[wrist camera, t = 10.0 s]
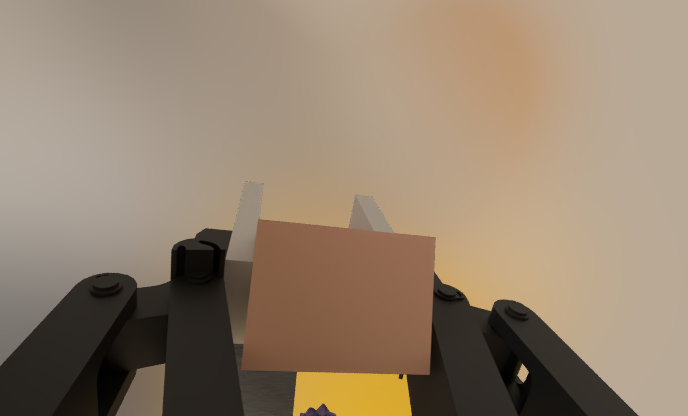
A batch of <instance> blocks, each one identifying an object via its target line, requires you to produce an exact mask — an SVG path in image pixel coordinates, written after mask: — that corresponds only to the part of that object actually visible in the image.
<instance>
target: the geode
mask: <svg viewBox="0 0 688 416" xmlns="http://www.w3.org/2000/svg"><path fill="white" fill-rule="evenodd" d="M300 416H336V414H335V413H331V412H330V411H329V410H328V409H327V407H326V406H325V404H322V405H321V406H320V407H319V408H318V409H317V410H315V409H313V408H309V409H308V410H307V412H306V413H300Z"/></svg>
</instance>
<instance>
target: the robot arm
mask: <svg viewBox="0 0 688 416" xmlns="http://www.w3.org/2000/svg"><path fill="white" fill-rule="evenodd" d="M262 193H263V183H255V182H248V181H245V183H244V187H243V191H242V195H241V199H240V203H239V207H238V211H237V215H236V219H235V223H234V227H233V231H228V230H217V229H207V228H206V229H204V230H202V231H201V232H199V233H198V234H197V235H196V237H195V238H194V239H187V240H183V241H180V242H178V243H177V244H175V245H174V246H173V248H172V252H171V254H172V255H171V281H169V282H167V283H164V284H161V285H157V286H151V287H143V288H137V283H136V281H135V280H134V279H133V278H132V277H130V276H128V275H124V274H120V273H102V274H97V275H93V276H91V277H88V278H86V279H84V280H82V281H81V282H79V283H78V284H77V285H75V287H73V289H72V290H71V291H70V292H69V293H68V294H67V295H66V296H65V297H64V298H63V299H62V300H61V301H60V303H59V304H58V305H57V306H56V307H55V308H54V309H53V310H52V311H51V312H50V313H49V314H48V315H47V317H46V318H45V319H44V320H43V321H42V322H41V323H40V324H39V325H38V326H37V328H35V329H34V330H33V332H32V333H31V334H30V335H29V336H28V337H27V338H26V339H25V340H24V341H23V342H22V343H21V345H20V346H19V347H18V348H17V349H16V350H15V351H14V352H13V353H12V354H11V355H10V356H9V357H8V358H7V359H6V361H5V362H4V363H3V364H2V365H1V366H0V416H115V415H116V413H117V411H118V409H119V407H120V405H121V403H122V401H123V399H124V397H125V395H126V393H127V391H128V389H129V387H130V385H131V383H132V381H133V379H134V377H135V375H136V370H137V369H139V368H144V367H148V366H154V365H159V364H164V363H165V381H164V397H163V414H162V416H244V409H243V402H242V396H241V389H240V383H239V376H238V369H237V363H236V356H235V349H234V344H244V337H245V329H246V320H247V311H248V302H249V293H250V285H251V276H252V267H253V258H254V249H255V241H256V232H257V223H258V219H260V210H261V202H262ZM349 229H359V230H368V231H378V232H388V233H394V232H393V230H392V228H391V227H390V226H389V224H388V222H387V221H386V219H385V217H384V215H383V214H382V212H381V210H380V209H379V207H378V206H377V204H376V203H375V201H374V199H373V197H370V196H361V195H355V200H354V205H353V210H352V214H351V219H350V224H349ZM522 363H523V365H524V366H525V367H526V368H527V370H528V371H529V373H528V375H527V378H526V380H525V381H524V383H523V382H522V381H521V380H520V379H519V377H518V376H517V375H518V372H519V370H520V368H521V365H522ZM403 375H404V374H399V379H402V378H403ZM406 375H407V382H408V390H409V397H410V404H411V412H412V416H638V415H637V414H636V413H635V412H634V411H633V410H632V409H631V408H630V407H629V406H628V405H627V404H626V403H625V402H624V401H623V400H622V399H621V398H620V397H619V396H618V395H617V394H616V393H615V392H614V391H613V390H612V389H611V388H610V387H609V386H608V385H607V384H606V383H605V382H604V381H603V380H602V379H601V378H600V377H599V376H598V375H597V374H596V373H595V372H594V371H593V370H592V369H591V368H590V367H589V366H588V365H587V364H586V363H585V362H584V361H583V360H582V359H581V358H580V357H579V356H578V355H577V354H576V353H575V352H574V351H573V350H572V349H571V348H570V347H569V346H568V345H567V344H565V342H564V341H563V340H562V339H561V338H560V337H558V336H557V334H556V333H555V332H554V331H553V330H552V329H551V328H549V327H548V325H547V324H546V323H544V321H543V320H542V319H541V318H540V317H538V316H537V315H536V314H535V313H534V312H533V311H532V310H530V309H529V308H527V307H526V306H524V305H523V304H521V303H518V302H516V301H512V300H511V301H510V300H498V301H496V302H495V303H494V305H493V308H492V310H491V311H488V310H484V309H480V308H477V307H473V306H470V304H469V302H468V300H467V298H466V296H465V295H464V294H463V293H462V292H461V291H459V290H458V289H456V288H454V287H452V286H449V285H446V284H442V282H441V281H440V279H439V278H438V276H437V275H436V274H435V272H434V285H433V308H432V332H431V355H430V375H413V374H406Z"/></svg>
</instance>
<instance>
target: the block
mask: <svg viewBox="0 0 688 416" xmlns="http://www.w3.org/2000/svg"><path fill="white" fill-rule="evenodd" d="M434 261H435V237H427V236H417V235H406V234H398V233H388V232H378V231H368V230H359V229H349V228H339V227H329V226H319V225H310V224H300V223H290V222H280V221H270V220H261V219H258V223H257V232H256V241H255V249H254V258H253V267H252V276H251V285H250V293H249V302H248V311H247V320H246V329H245V337H244V346H243V355H242V364H241V370H255V371H294V372H334V373H336V372H337V373H374V374H376V373H377V374H413V375H430V355H431V332H432V308H433V285H434Z"/></svg>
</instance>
